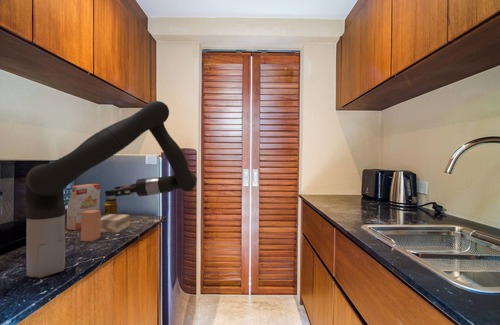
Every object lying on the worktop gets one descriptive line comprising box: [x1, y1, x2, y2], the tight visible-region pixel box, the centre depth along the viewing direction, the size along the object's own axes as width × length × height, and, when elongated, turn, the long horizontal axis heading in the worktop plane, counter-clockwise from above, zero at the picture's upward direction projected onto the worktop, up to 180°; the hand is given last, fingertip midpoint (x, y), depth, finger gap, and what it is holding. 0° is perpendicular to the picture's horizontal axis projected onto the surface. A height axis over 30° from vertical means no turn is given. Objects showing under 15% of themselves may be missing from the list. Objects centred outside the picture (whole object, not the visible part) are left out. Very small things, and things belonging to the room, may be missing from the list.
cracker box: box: [65, 183, 101, 231], centre depth 122 cm, size 14×6×21 cm, turn 168°
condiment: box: [104, 197, 118, 216], centre depth 135 cm, size 7×8×12 cm
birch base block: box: [101, 213, 131, 233], centre depth 120 cm, size 11×11×6 cm
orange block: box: [80, 209, 102, 242], centre depth 104 cm, size 5×5×12 cm
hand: (110, 191), depth 103 cm, fingers open, 8 cm apart
